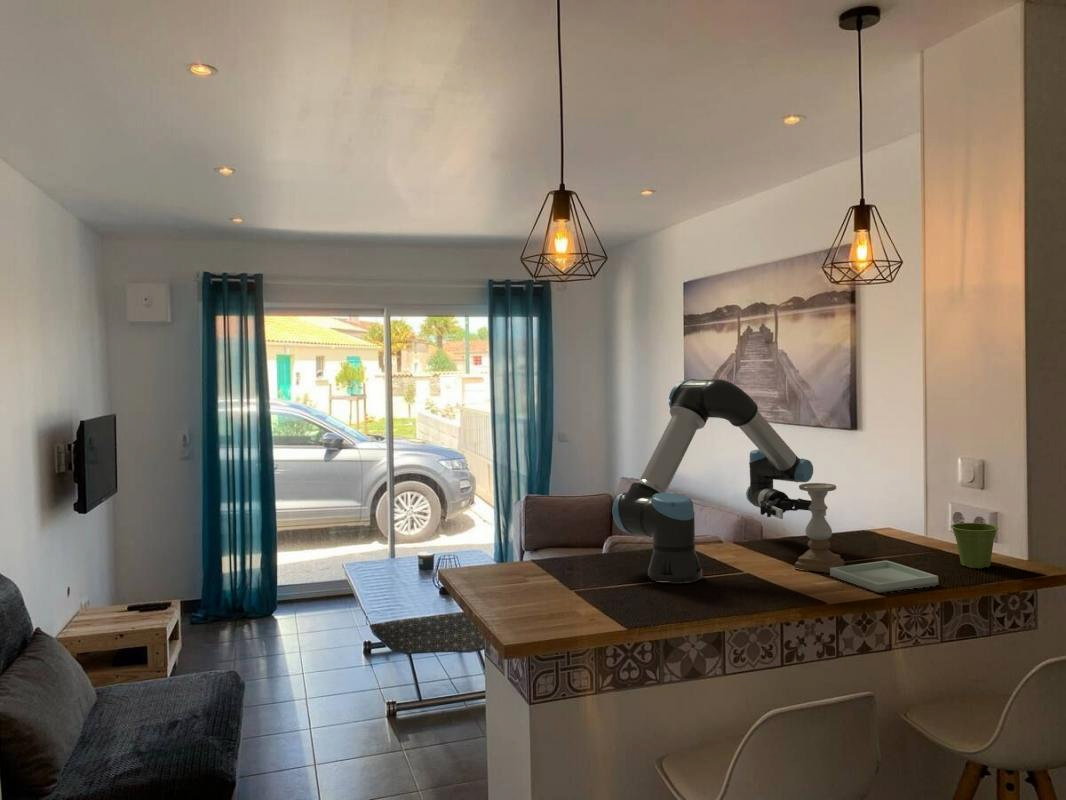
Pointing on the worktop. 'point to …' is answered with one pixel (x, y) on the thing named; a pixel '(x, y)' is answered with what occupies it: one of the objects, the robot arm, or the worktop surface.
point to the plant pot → (975, 543)
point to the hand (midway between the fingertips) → (803, 512)
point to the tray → (884, 576)
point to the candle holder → (818, 532)
